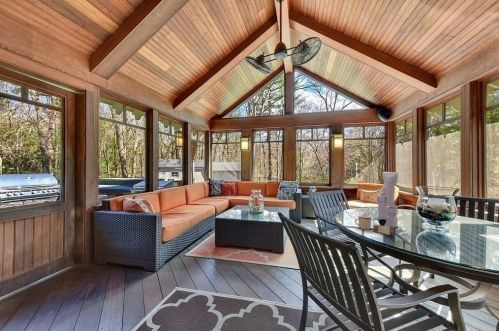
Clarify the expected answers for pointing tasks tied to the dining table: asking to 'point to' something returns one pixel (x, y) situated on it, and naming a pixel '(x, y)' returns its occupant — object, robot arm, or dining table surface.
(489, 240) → the dining table surface
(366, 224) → the teacup with lid
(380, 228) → the beige flat panel
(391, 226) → the hinge post
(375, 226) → the post
